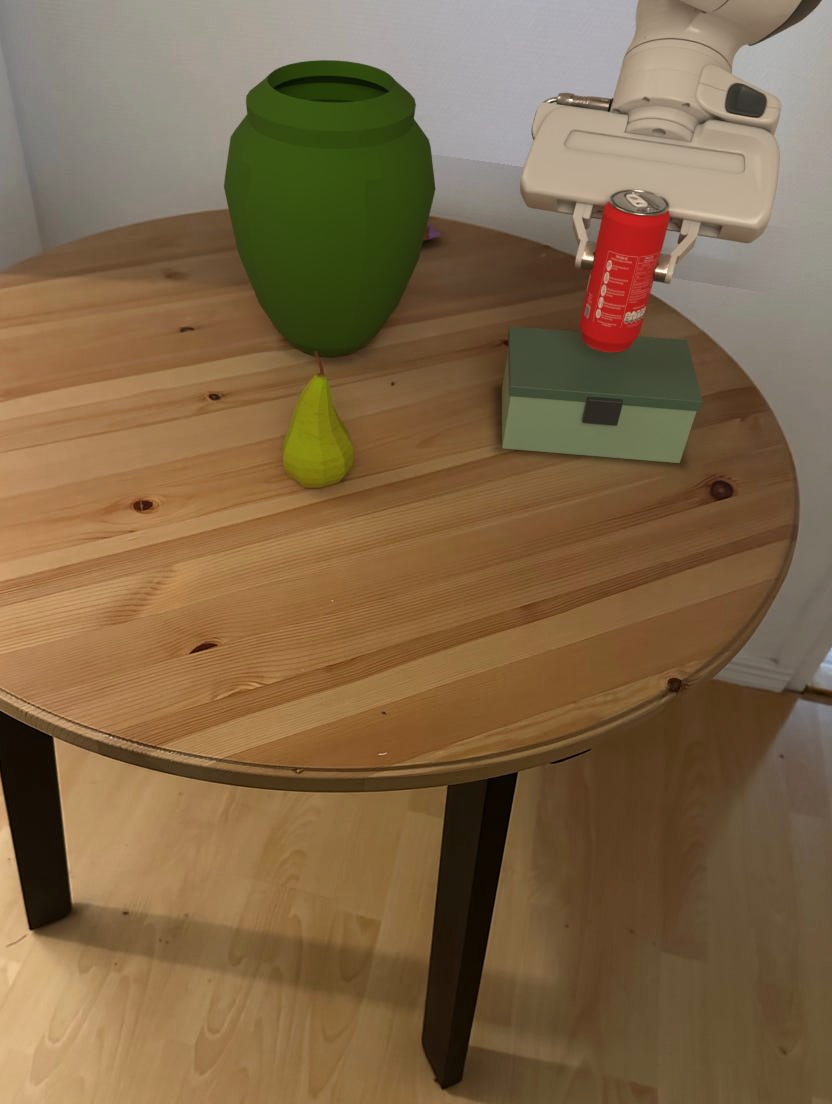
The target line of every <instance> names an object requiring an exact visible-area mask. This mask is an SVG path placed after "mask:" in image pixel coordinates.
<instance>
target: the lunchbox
mask: <svg viewBox="0 0 832 1104" xmlns="http://www.w3.org/2000/svg"><path fill="white" fill-rule="evenodd" d="M507 332H508V333H507V352H506V353H507V354H506V360H505V366H504V374H503V378H502V379H503V380H502V385H501V448H502V449H503V450H504V449H505V450H516V451H527V452H528V451H529V452H540V453H550V454H551V453H552V454H565V455H574V456H575V455H577V456H587V457H599V458H614V459H623V460H637V461H649V462H661V463H670V464H671V463H673V464H680V463H681V460H682V458H683V454H684V452H685V449H686V445H687V443H688V439H689V437H690V432H691V430H692V427H693V423H694V420H695V418H696V415H697V412H701V409H702V406H703V403H704V400H703V397H702V393H701V388H700V385H699V382H698V378H697V374H696V370H695V366H694V362H693V358H692V355H691V350H690V346H689V343H688V339H679V338H667V337H666V338H665V337H655V336H654V337H653V336H641V335H639V336H638V337H637V338H636V340H635V341H634V342H633V343H632V345H631V347H630V348H629V349H628V350H626V351H623V352H619V353H606V352H600V351H597V350H594V349H592V348H590V347H588V346H587V345H586V344H585V343H584V342H583V341H582V333H581V331H574V330H561V329H548V328H537V327H536V328H535V327H524V326H509V328H508V331H507Z"/></svg>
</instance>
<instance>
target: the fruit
mask: <svg viewBox="0 0 832 1104" xmlns="http://www.w3.org/2000/svg"><path fill="white" fill-rule="evenodd" d="M314 354H315V355H314V356H315V358H316V361H317V364H318V367H319V372H317V373H315V374H314V375H313V376H312V378H311V379H310V381H309V382H308V384H306V385H305V387H304V389H302V391H301V393H300V395H299V397H298V399H297V401H296V404H295V405H294V409H293V412H292V415H291V419H290V423H289V426H288V429H287V432H286V434H285V436H284V438H283V442H282V462H283V469H284V471H285V473H286V475H287V476H288V477H289V478H290V479H291V480H293V481H294V482H296V483H297V484H298V485H300V486H302V487H303V488H308V489H323V488H325V487H329V486H332V485H334V484H337V483H339V482H341V481H342V480H343V478H344V477H345V476H346V475H347V474H348V473H349V472H350V471H351V470H352V468H353V466H354V463H355V449H354V446H353V442H352V440H351V437H350V433H349V430H348V429H347V427H346V425H345V423H344V422H343V421H342V420H341V418H340V417H339V414H338V412H337V410H336V408H335V405H334V401H333V396H332V392H331V387H330V384H329V382H328V379H327V377H326V375H325V371H324V367H323V364H322V361H321V359H320V358H321V357H320V356H318V354H317V351H315V352H314Z"/></svg>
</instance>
